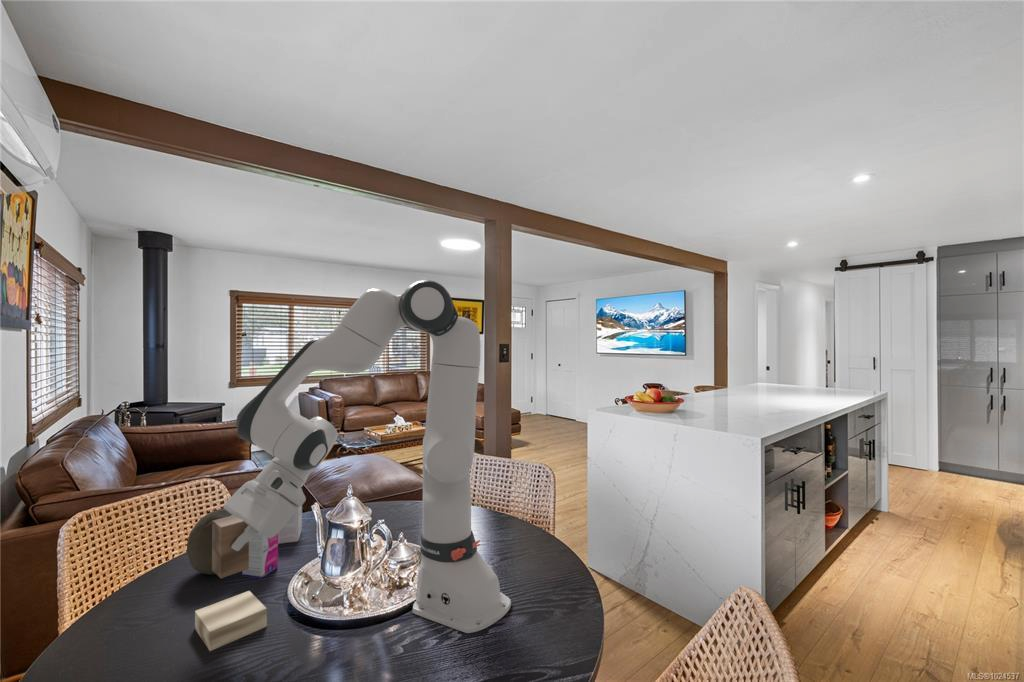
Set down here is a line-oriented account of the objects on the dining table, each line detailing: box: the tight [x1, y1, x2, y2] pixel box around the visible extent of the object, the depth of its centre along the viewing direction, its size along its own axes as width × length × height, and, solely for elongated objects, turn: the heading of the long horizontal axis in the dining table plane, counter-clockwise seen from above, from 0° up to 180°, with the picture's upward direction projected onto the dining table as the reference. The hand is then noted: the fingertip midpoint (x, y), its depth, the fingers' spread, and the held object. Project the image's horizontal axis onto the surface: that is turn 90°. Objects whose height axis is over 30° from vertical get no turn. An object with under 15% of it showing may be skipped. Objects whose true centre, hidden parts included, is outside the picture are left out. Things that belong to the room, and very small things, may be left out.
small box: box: [278, 505, 303, 545], centre depth 134 cm, size 8×6×10 cm
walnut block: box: [212, 515, 249, 579], centre depth 92 cm, size 5×5×10 cm
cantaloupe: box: [186, 508, 232, 575], centre depth 115 cm, size 14×14×15 cm
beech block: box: [194, 590, 268, 652], centre depth 92 cm, size 10×10×4 cm
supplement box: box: [241, 532, 279, 580], centre depth 114 cm, size 6×6×12 cm
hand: (227, 544), depth 91 cm, fingers closed on walnut block, 5 cm apart
